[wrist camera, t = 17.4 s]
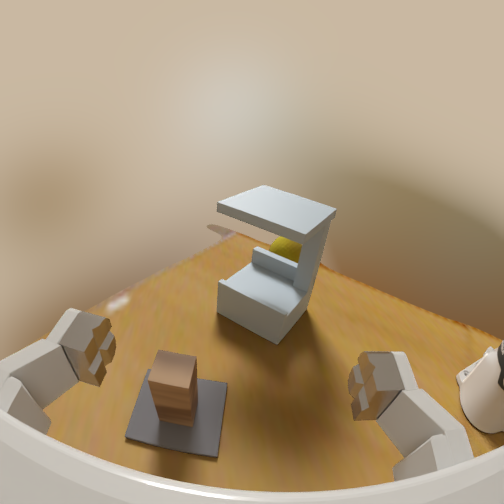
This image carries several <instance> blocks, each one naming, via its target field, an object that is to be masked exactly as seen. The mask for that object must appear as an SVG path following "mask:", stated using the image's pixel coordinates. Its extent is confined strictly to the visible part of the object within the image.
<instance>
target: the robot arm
mask: <svg viewBox="0 0 504 504" xmlns="http://www.w3.org/2000/svg"><path fill="white" fill-rule="evenodd" d="M111 327H112V326H111V323H110V319H108V318H105V317H101V316H98V315H94V314H91V313H87V312H84V311H80V310H76V309H72V308H70V309H68V310H67V311H66V312H65V313H64V315H63V316H62V317H61V319H60V320H59V321H58V323H57V324H56V326H55V327H54V328H53V330H52V331H51V333H50V334H49V336H48V337H47V339H46V340H45V339H41V340H39V341H37V342H35V343H33V344H31V345H29V346H27V347H26V348H24V349H22V350H20V351H18V352H16V353H14V354H12V355H10V356H8V357H7V358H5V359H3V360H1V361H0V504H504V445H503V446H501V447H499V448H497V449H495V450H492V451H490V452H488V453H485V454H483V455H481V456H478V457H476V458H474V456H473V453H472V450H471V446H470V443H469V440H468V437H467V434H466V431H465V428H464V426H462V425H461V424H460V423H459V422H458V421H457V420H456V419H455V418H454V417H453V416H451V415H450V414H449V413H448V412H447V411H446V410H445V409H444V408H443V407H442V406H441V405H439V404H438V403H437V402H436V401H435V400H434V399H433V398H432V397H431V396H429V395H428V394H427V393H426V392H425V391H424V390H423V389H419V388H418V386H417V383H416V380H415V377H414V375H413V372H412V369H411V367H410V364H409V361H408V359H407V356H406V354H405V353H404V352H367V351H364V352H362V353H361V354H360V356H359V357H358V363H359V364H357V365H356V366H354V367H353V368H352V370H351V372H350V374H349V379H348V389H349V394H350V395H351V396H352V397H353V398H354V400H353V402H352V404H351V407H352V412H353V418H354V421H361V420H376V422H377V423H378V424H379V425H380V427H381V428H382V429H383V431H384V432H385V433H386V434H387V436H388V437H389V438H390V440H391V441H392V442H393V443H394V445H395V446H396V447H397V449H398V450H399V451H400V452H401V454H402V455H403V456H404V459H402V460H401V461H400V462H398V463H397V464H395V466H394V467H393V474H394V481H395V482H390V483H384V484H379V485H373V486H366V487H359V488H351V489H342V490H330V491H314V492H263V491H247V490H235V489H226V488H218V487H210V486H204V485H198V484H192V483H186V482H181V481H176V480H172V479H167V478H163V477H159V476H155V475H151V474H147V473H143V472H140V471H136V470H133V469H130V468H126V467H123V466H120V465H117V464H114V463H111V462H108V461H105V460H103V459H100V458H97V457H95V456H92V455H89V454H87V453H84V452H82V451H80V450H77V449H75V448H73V447H70V446H68V445H66V444H64V443H61V442H59V441H57V440H55V439H53V438H51V437H49V436H47V435H46V434H47V432H48V429H49V427H50V425H51V421H50V418H49V417H48V416H47V415H46V414H45V412H44V411H43V409H44V408H45V407H47V406H48V405H49V404H51V403H52V402H53V401H54V400H56V399H57V398H58V397H60V396H61V395H62V394H64V393H65V392H66V391H67V390H69V389H70V388H71V387H73V386H74V385H75V384H77V383H78V382H79V381H82V382H85V383H88V384H92V385H95V386H98V387H100V385H101V383H102V381H103V379H104V377H105V375H106V373H107V371H106V368H105V366H106V365H107V364H109V363H111V362H112V360H113V357H114V355H115V350H116V340H115V337H114V335H113V334H112V333H111V332H110V329H111ZM456 378H457V381H458V384H459V387H460V401H461V405H462V408H463V411H464V413H465V415H466V416H467V418H468V419H469V421H470V422H471V423H472V424H473V425H474V426H475V427H476V428H478V429H479V430H481V431H483V432H486V433H497V432H500V431H503V432H504V340H503V341H502V343H501V345H500V346H499V347H498V348H496V349H493V348H492V347H491V346H490V347H489V348H488V349H487V350H486V351H485V353H484V354H483V357H482V358H481V359H479V360H478V361H476V362H475V363H473V364H472V365H470V366H469V367H467V368H466V369H464V370H462V371H461V372H460V373H459V374H458V375H457V377H456ZM78 380H79V381H78Z"/></svg>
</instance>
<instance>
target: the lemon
mask: <svg viewBox="0 0 504 504" xmlns="http://www.w3.org/2000/svg"><path fill="white" fill-rule="evenodd" d="M301 248H302V244H299V243H297V242H294V241H292V240H289V239H287V238H284V237H282V236H280V237H278V238H277V239H276V240H275V241H274V242H273V243H272V244H271V246H270V249H269V251H270V252H272V253H274V254H277V255H279V256H281V257H284V258H286V259H289V260H291V261H293V262H296V263H298V262H299V257H300V253H301Z"/></svg>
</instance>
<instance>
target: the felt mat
mask: <svg viewBox="0 0 504 504" xmlns="http://www.w3.org/2000/svg"><path fill="white" fill-rule="evenodd" d="M150 372H151V369H148V370H147V373H146V376H145V379H144V381H143V384H142V387H141V390H140V393H139V396H138V398H137V401H136V404H135V407H134V410H133V413H132V416H131V419H130V422H129V425H128V428H127V431H126V434H125V437H126V438H128V439H131V440H135V441H138V442H142V443H146V444H150V445H154V446H158V447H162V448H166V449H171V450H176V451H180V452H186V453H191V454H197V455H203V456H209V457H216V458H217V455H218V447H219V440H220V433H221V425H222V418H223V411H224V404H225V396H226V389H227V383H224V382H217V381H210V380H204V379H198V378H197V386H198V403H197V408H196V413H195V418H194V423H193V427H189V426H184V425H179V424H174V423H169V422H164V421H160V420H159V418H158V415H157V411H156V408H155V405H154V401H153V398H152V395H151V391H150V388H149V384H148V377H149V374H150Z"/></svg>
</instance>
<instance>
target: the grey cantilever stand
mask: <svg viewBox="0 0 504 504" xmlns="http://www.w3.org/2000/svg"><path fill="white" fill-rule="evenodd" d="M217 212H219V213H222V214H225V215H228V216H230V217H233V218H235V219H238V220H240V221H243V222H246V223H248V224H251V225H253V226H256V227H259V228H261V229H264V230H267V231H269V232H272V233H274V234H277V235H279V236H282V237H284V238H287V239H289V240H292V241H294V242H297V243H299V244H302V248H301V253H300V257H299V262H298V263H296V262H293V261H291V260H289V259H286V258H284V257H281V256H279V255H277V254H274V253H272V252H270V251H267V250H265V249H262V248H260V247H258V246H257V247H256V248H254V249H253V254H252V262H251V263H250V264H248V265H247V266H245V267H244V268H243V269H241V270H240V271H239V272H237V273H236V274H234V275H233V276H232V277H230V278H229V279H227V280H226V281H225V280H223V279H221V280H220V281H218V297H217V312H218V313H220V314H221V315H223V316H225V317H227V318H229V319H230V320H232V321H234V322H236V323H237V324H239V325H241V326H243V327H245V328H246V329H248V330H250V331H252V332H254V333H256V334H258V335H259V336H261V337H263V338H265V339H267V340H269V341H271V342H273V343H274V344H276V345H278V344H279V342H280V341H281V340H282V339H283V338H284V336H285V335H286V334H287V333H288V332H289V330H290V329H291V328H292V327H293V325H294V324H295V323H296V322H297V320H298V319H299V318H300V317H301V315H302V314H303V313H304V312H305V310H306V309H307V306H308V303H309V299H310V296H311V293H312V289H313V286H314V282H315V279H316V275H317V272H318V268H319V264H320V261H321V257H322V253H323V249H324V246H325V242H326V238H327V234H328V230H329V226H330V222H331V220H332V219H333V218H335V214H336V209H335V208H332V207H329V206H327V205H324V204H321V203H317V202H315V201H312V200H309V199H306V198H303V197H300V196H297V195H294V194H290V193H288V192H285V191H281V190H278V189H275V188H272V187H269V186H265V185H262V186H259V187H257V188H254V189H251V190H249V191H246V192H243V193H240V194H238V195H235V196H232V197H230V198H227V199H224V200H222V201H219V202H217Z"/></svg>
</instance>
